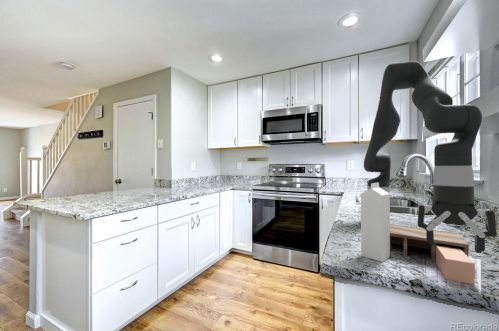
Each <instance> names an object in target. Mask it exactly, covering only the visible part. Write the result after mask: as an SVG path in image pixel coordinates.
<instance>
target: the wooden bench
mask: <svg viewBox="0 0 499 331" xmlns="http://www.w3.org/2000/svg"><path fill="white" fill-rule="evenodd" d="M433 232H434V246H431V245H430V243H428V242H427V240H426V230H425V229H424V228H420V227H412V226H404V225H397V224H391V223H390V244H398V245H403V256H405V257H408V247H415V248H421V249H428V250H429V253H430V256H431V261H432V262H436V246H442V247H449V248H456V249H461V250H462V251H463V252H464V253H465V254H466V255H467V256H468V257H469V258H470V255H469V252H470V250H469V249H470V247H469V245H470V244H469V242H467V241H466V239H465V238H464V237H463V235H462V234H461V233H457V232H450V231H442V230H437V229H436V230H435V229H433Z"/></svg>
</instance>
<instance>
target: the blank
mask: <svg viewBox="0 0 499 331" xmlns="http://www.w3.org/2000/svg"><path fill="white" fill-rule="evenodd" d="M475 264H476V263H475V262H474V261H473V260H472V259H471V258H470V256H469V257H468V256H467V255H466V254H465V253H464V252H463V251H462V250H461V249H456V248H449V247H442V246H436V265H437V266H438V268H439V270H440V271H441V274H442V275H443V277H444V278H445V280H450V281H454V282H460V283H464V284H470V285H475V283H476V281H475V279H476V277H475V276H476V275H475V273H476V272H475V270H476V269H475V268H476V266H475Z"/></svg>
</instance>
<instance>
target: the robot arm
mask: <svg viewBox="0 0 499 331" xmlns="http://www.w3.org/2000/svg"><path fill="white" fill-rule="evenodd" d="M380 87H381V88H380V95H379V101H378V106H377V110H376V114H375V118H374V121H373V125H372V130H371V136H370V140H369V144H368V146H367V150H366V153H365V156H364V160H363V169H364V170H365V172H367V173H379V175H378V176H376V177H373V178H370V179H368V180H367V190H369V189H371V183H379V188H381V189H383V190H384V191H386V192H388V193H389V194H390V192H391V191H390V183H391V166H392V162H391V161H392V160H391V156H390V154H388V153H384V152H382V153H379V152H380V150H381V149H382V148H383V147H384V146H386V145H387V144H388V143H390V142H391V141H392V139H394V138H395V137H396V135H397V133H398V129H399V126H400V123H401V116H400V114H399V112H398V110H397V109H396V106H395V104H394V102H393V95H394V91H395V90H396V91H399V90H407V89H413V91H412V94H411V100H412V104H413V105H414V106H415V107H416V108H417V109H418V111H420V113H421V114H422V118H423V121H424V126H425V128H426V129H427V130H428V131H429V132H432V133H433V134H454V135H453V137H452V138H451V140H450V141H447V142H441V143H439V144H436V145H435V147H434V149H433V150H434V151H433V153H434V154H433V156H434V157H433V158H434V160H433V162H434V165H433V166H434V167H433V168H434V169H433V173H432V177H433V178H432V183H433V185H432V186H433V191H432V192H433V194H432V195H433V202H432V205H426V204H422V203H419V204H418V207H417V208H418V211H417V226H418V228H422V229H425V230H426V240H427V242H428V243H430V245H431V246H434V232H433V230H435V228H436V227H439V225H440V224H441V223H444V224H445V225H456V226H459V227H460V226H462V227H463V226H465V225H467V226H468V227H469V228H470V230H472V231H473V232H474V233H475V235H474V251H475V253H477V254H482V252H485V250H486V238H490V237H497V225H496V224H497V223H496V215H495V211H494V210H491V209H489V208H485V209H477V208H476V206H475V183H476V181H475V174H474V170H473V169H474V168H473V147H474V144H475V142H476V138H477V136H478V133H479V130H480V128H481V125H482V122H483V114H482V111H481V110H480V108H479V107H478V106H476V105H474V104H472V103H471V104H469V103H466V104H462V103H461V104H454V100H453V97H452V96H451V95H450V94H449V93H447V92H446V91H445V90H443V89H442V88H441V87H440V86H438V85H437V84H436V83H435V82H434V80H433V79H432V78H431V76H430V74H429V73H428V71H427V70H426V69H425V67H424V66H423V65H422V64H421V63H420V62H419V61H416V60H409V61H402V62H401V61H400V62H394V63H390V64H388V65H387V66H386V68H384V71H383V76H382V81H381V86H380ZM390 195H391V194H390ZM429 211H432V212H433V214H434V215H435V216H434V217H433V218H432V219H431V220H430V221H429V222H428V223H425V214H428V213H429ZM477 215H480V217H481V219H484V224H485V229H483V230H482V229H480V228H479V226H477V225H476V224H475V222H473V219H474V218H475V217H476V216H477Z"/></svg>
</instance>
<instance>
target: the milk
mask: <svg viewBox="0 0 499 331" xmlns="http://www.w3.org/2000/svg"><path fill="white" fill-rule="evenodd" d="M390 195H391V194H389V193H388V192H386V191H384V190H383V189H381V188H379V183H371V189H369V190H368V189H367V190H366V191H363V192H361V193H360V255H361V257H364V258H368V259H371V260H375V261H378V262H381V263H384V262H385V261H386V260H387V259H389V258H390V256H391V242H390V224H391V220H390V218H391V215H390V214H391V210H390V208H391V206H390V205H391V203H390V201H391V200H390V197H391V196H390Z"/></svg>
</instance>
